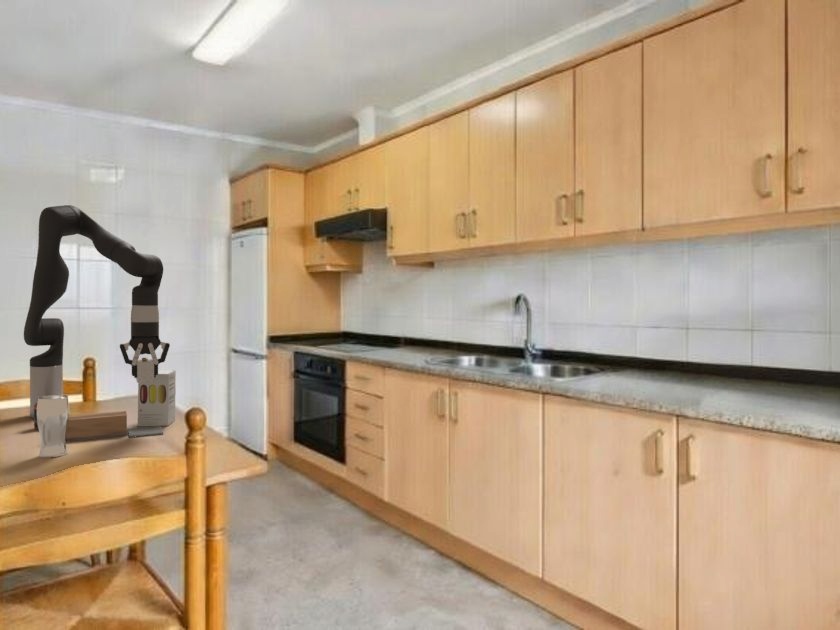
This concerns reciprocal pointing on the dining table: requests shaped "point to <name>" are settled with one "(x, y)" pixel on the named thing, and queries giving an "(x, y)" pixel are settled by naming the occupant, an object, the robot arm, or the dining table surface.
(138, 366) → the drawer with brass knob
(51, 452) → the beer glass
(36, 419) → the supplement bottle
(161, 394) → the supplement box
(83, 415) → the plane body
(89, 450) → the dining table surface
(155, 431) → the mat
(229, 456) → the dining table surface
